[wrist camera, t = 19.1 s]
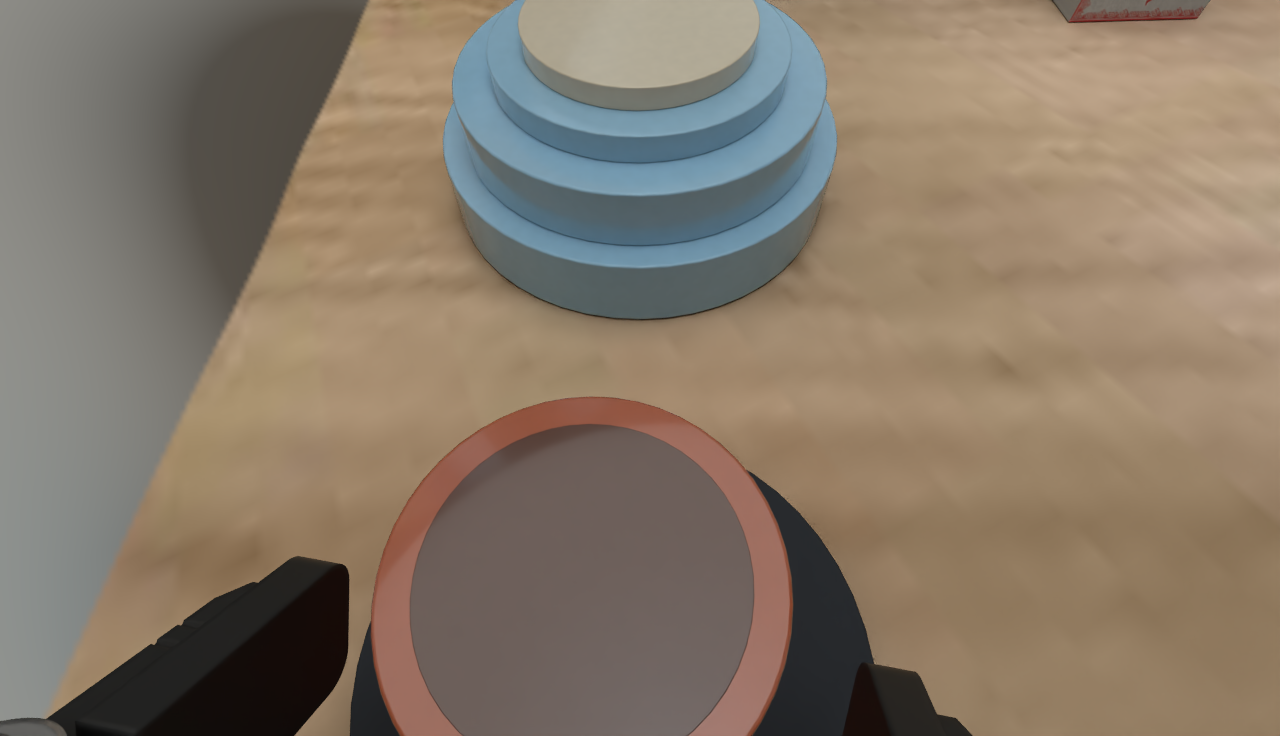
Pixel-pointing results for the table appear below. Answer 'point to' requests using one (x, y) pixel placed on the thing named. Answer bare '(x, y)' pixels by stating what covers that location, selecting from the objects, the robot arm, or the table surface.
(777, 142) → the tiered blue disc stack
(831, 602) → the mat
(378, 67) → the table surface
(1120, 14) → the tea box
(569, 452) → the tumbler
